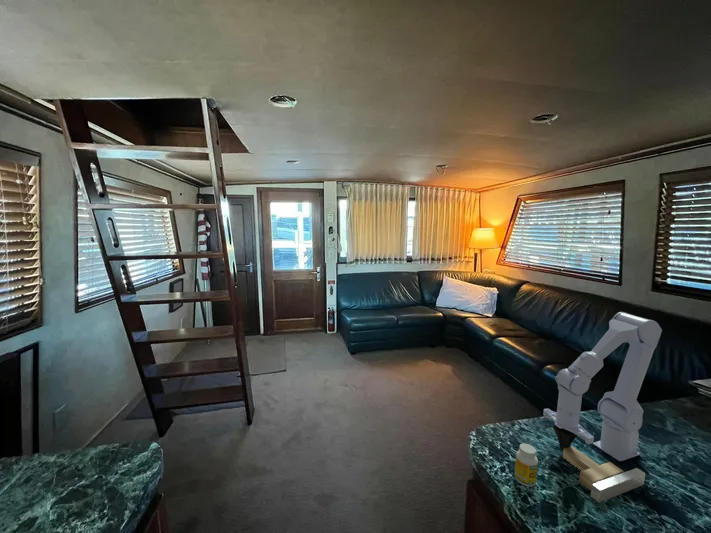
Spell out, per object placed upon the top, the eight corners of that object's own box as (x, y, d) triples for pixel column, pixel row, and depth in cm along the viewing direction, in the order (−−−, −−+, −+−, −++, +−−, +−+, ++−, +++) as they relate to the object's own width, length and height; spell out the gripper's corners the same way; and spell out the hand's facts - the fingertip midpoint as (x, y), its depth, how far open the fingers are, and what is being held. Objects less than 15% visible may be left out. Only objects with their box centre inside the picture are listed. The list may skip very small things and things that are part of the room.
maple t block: (580, 451, 96) (581, 443, 96) (622, 480, 85) (623, 470, 85) (552, 460, 92) (553, 451, 92) (592, 491, 81) (593, 481, 81)
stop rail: (635, 479, 86) (636, 467, 85) (643, 484, 84) (645, 473, 83) (590, 496, 80) (591, 484, 80) (598, 502, 78) (600, 490, 78)
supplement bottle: (520, 469, 89) (523, 438, 88) (539, 481, 84) (543, 450, 83) (510, 477, 86) (513, 446, 85) (529, 490, 81) (532, 458, 80)
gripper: (537, 398, 99) (534, 436, 101) (583, 426, 85) (578, 470, 87) (553, 395, 101) (550, 432, 103) (600, 421, 87) (595, 464, 89)
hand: (564, 449), depth 95 cm, fingers closed
